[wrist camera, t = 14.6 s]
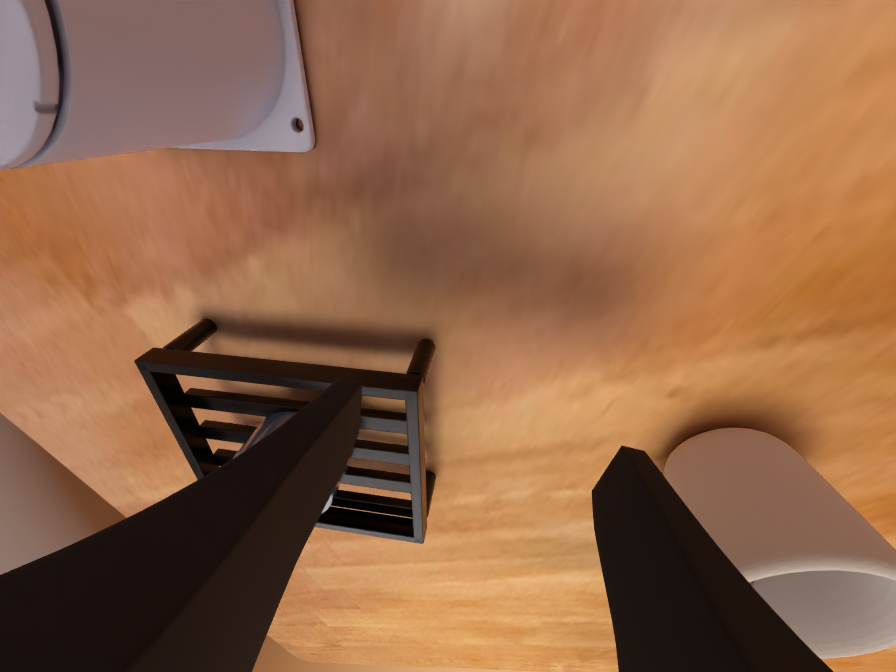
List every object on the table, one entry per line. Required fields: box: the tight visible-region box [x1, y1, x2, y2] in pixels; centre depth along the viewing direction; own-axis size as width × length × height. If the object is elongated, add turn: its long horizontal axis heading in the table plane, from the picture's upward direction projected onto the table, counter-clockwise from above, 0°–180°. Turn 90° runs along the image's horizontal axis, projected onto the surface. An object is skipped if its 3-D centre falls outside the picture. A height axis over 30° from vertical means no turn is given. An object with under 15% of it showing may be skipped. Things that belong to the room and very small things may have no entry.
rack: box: [134, 319, 436, 544], centre depth 22 cm, size 12×14×4 cm
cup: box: [663, 428, 896, 659], centre depth 19 cm, size 11×8×8 cm
